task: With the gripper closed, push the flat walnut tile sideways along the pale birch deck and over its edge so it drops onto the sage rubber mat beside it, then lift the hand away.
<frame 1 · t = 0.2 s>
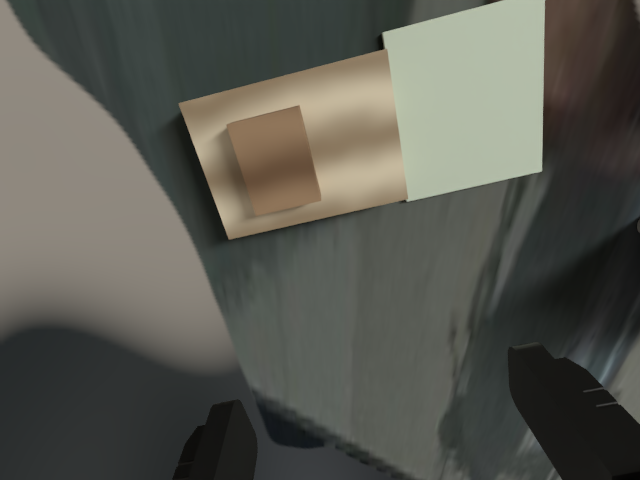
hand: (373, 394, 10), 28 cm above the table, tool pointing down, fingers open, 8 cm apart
birch deck: (301, 147, 35), on the table
walnut tile: (277, 161, 31), point 5 cm above the table, touching birch deck
sage mat: (465, 106, 34), on the table
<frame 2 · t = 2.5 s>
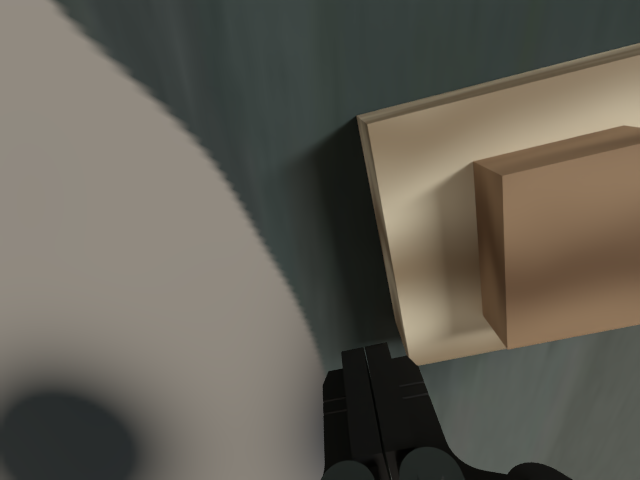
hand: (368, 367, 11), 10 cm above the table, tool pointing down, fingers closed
birch deck: (538, 195, 19), on the table
walnut tile: (562, 242, 15), point 5 cm above the table, touching birch deck
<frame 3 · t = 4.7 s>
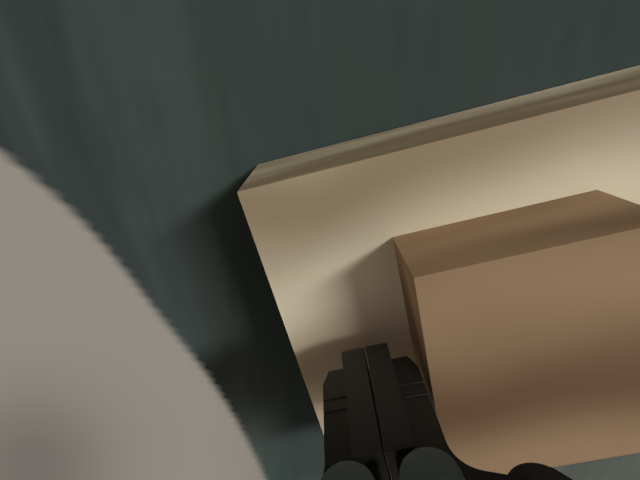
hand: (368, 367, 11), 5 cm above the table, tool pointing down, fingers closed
birch deck: (498, 257, 15), on the table
walnut tile: (517, 346, 11), point 5 cm above the table, touching birch deck, gripper
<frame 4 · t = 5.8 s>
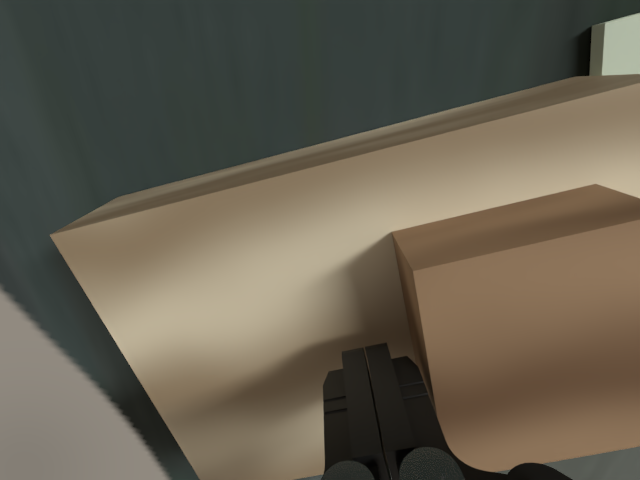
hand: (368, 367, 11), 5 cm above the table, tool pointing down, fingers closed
birch deck: (366, 282, 16), on the table
walnut tile: (517, 340, 11), point 5 cm above the table, touching birch deck
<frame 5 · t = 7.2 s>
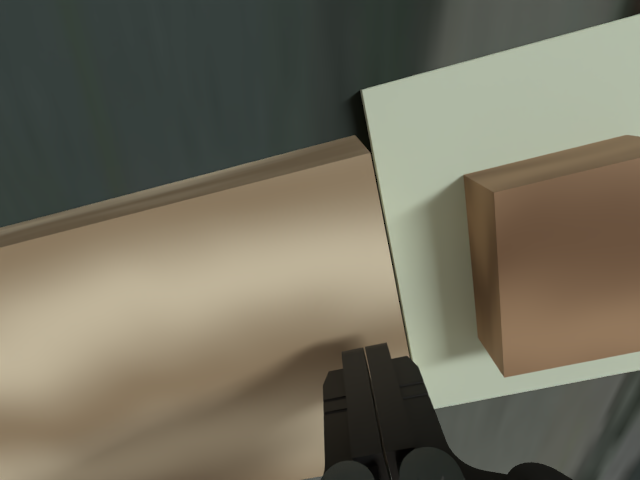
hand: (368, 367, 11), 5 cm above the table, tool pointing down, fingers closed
birch deck: (198, 320, 17), on the table
walnut tile: (562, 262, 14), point 2 cm above the table, tilted 180°, touching sage mat
sage mat: (554, 240, 15), on the table
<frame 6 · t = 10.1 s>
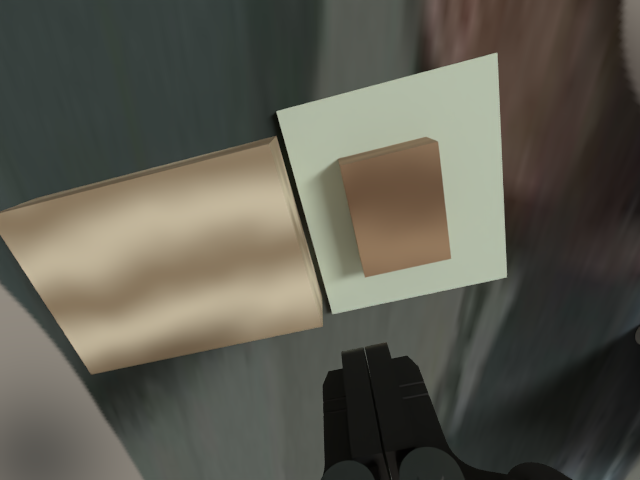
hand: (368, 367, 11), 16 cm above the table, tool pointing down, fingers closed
birch deck: (188, 250, 27), on the table
walnut tile: (394, 208, 24), point 2 cm above the table, tilted 180°, touching sage mat
sage mat: (400, 200, 25), on the table
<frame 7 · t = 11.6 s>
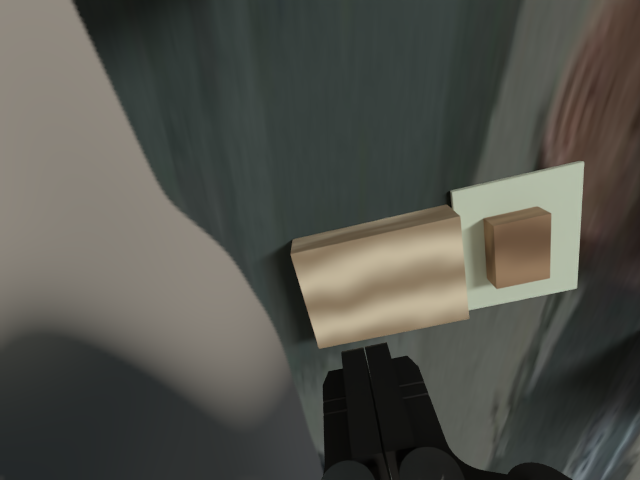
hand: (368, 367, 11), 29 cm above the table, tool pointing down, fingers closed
birch deck: (377, 270, 43), on the table
walnut tile: (516, 248, 40), point 2 cm above the table, tilted 180°, touching sage mat
sage mat: (515, 241, 41), on the table
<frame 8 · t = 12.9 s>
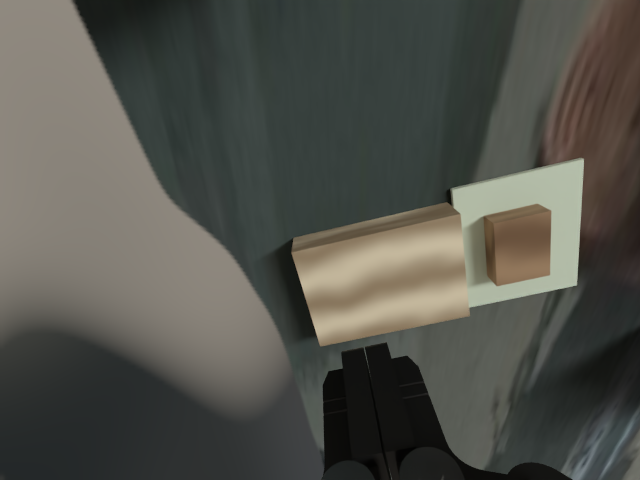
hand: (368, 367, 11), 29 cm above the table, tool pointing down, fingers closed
birch deck: (378, 268, 43), on the table
walnut tile: (516, 245, 40), point 2 cm above the table, tilted 180°, touching sage mat
sage mat: (515, 238, 41), on the table
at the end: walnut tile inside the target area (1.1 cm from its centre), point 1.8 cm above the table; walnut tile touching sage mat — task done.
